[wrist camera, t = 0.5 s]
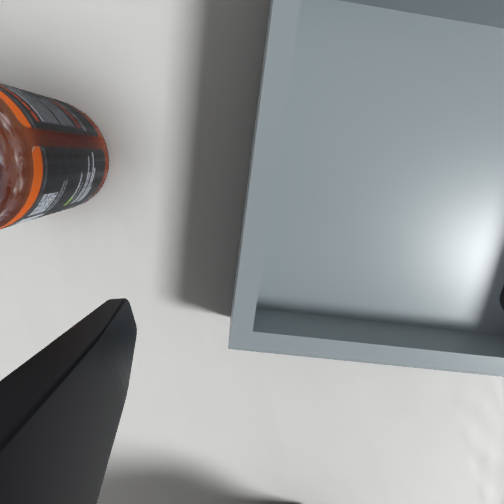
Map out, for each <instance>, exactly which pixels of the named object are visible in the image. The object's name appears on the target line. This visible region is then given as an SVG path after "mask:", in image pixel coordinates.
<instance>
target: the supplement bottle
mask: <svg viewBox="0 0 504 504" xmlns="http://www.w3.org/2000/svg"><path fill="white" fill-rule="evenodd" d="M108 169H109V156H108V150H107V146H106V143H105V140H104V138H103V136H102V134H101V132H100V130H99V129H98V127H97V126H96V125H95V124H94V122H93V121H92V120H91V119H90V118H89V117H88V116H86V115H85V114H84V113H83V112H81V111H80V110H78V109H77V108H75V107H73V106H71V105H69V104H66V103H63V102H61V101H58V100H55V99H51V98H48V97H44V96H41V95H38V94H35V93H31V92H28V91H25V90H21V89H18V88H14V87H10V86H7V85H4V84H1V83H0V229H3V228H6V227H9V226H12V225H15V224H19V223H22V222H25V221H28V220H32V219H35V218H38V217H42V216H45V215H48V214H52V213H55V212H59V211H62V210H65V209H69V208H72V207H75V206H77V205H79V204H82V203H85V202H87V201H88V200H89V199H91V198H92V197H93V196H94V195H95V194H96V193H98V191H99V190H100V188H101V187H102V186H103V184H104V182H105V180H106V177H107V173H108Z"/></svg>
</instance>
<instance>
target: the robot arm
mask: <svg viewBox="0 0 504 504" xmlns="http://www.w3.org/2000/svg"><path fill="white" fill-rule="evenodd" d="M499 302H500V305H501V307H502V309H503V311H504V285H503V288H502V290H501V293H500V296H499ZM136 335H137V328H136V323H135V320H134V316H133V313H132V309H131V306H130V303H129V301H128V300H127V299H125V298H121V299H110V300H108V301H106V302H105V303H103V304H102V305H101V306H99V307H98V308H97V309H95V310H94V311H93V312H91V313H90V314H89V315H87V316H86V317H85V318H83V319H82V320H81V321H80V322H78V323H77V324H76V325H74V326H73V327H72V328H70V329H69V330H68V331H66V332H65V333H64V334H62V335H61V336H60V337H58V338H57V339H56V340H54V341H53V342H52V343H50V344H49V345H48V346H46V347H45V348H44V349H42V350H41V351H40V352H38V353H37V354H36V355H34V356H33V357H32V358H30V359H29V360H28V361H26V362H25V363H24V364H22V365H21V366H20V367H18V368H17V369H16V370H14V371H13V372H12V373H10V374H9V375H8V376H6V377H5V378H4V379H2V380H1V381H0V504H96V503H97V499H98V496H99V492H100V489H101V485H102V482H103V478H104V475H105V471H106V468H107V464H108V460H109V457H110V453H111V450H112V446H113V443H114V439H115V436H116V432H117V428H118V425H119V421H120V418H121V414H122V411H123V407H124V403H125V400H126V396H127V390H128V385H129V379H130V373H131V366H132V360H133V354H134V348H135V341H136Z"/></svg>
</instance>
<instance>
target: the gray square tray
mask: <svg viewBox="0 0 504 504" xmlns="http://www.w3.org/2000/svg"><path fill="white" fill-rule="evenodd" d="M503 285H504V0H271V1H270V9H269V17H268V25H267V33H266V41H265V49H264V56H263V64H262V72H261V80H260V88H259V96H258V104H257V112H256V119H255V127H254V135H253V143H252V151H251V159H250V167H249V175H248V182H247V190H246V198H245V206H244V214H243V222H242V230H241V237H240V245H239V253H238V261H237V269H236V277H235V285H234V293H233V300H232V308H231V316H230V331H229V347H228V349H236V350H246V351H256V352H266V353H275V354H285V355H295V356H305V357H315V358H325V359H335V360H345V361H354V362H364V363H374V364H384V365H394V366H404V367H414V368H424V369H434V370H443V371H453V372H463V373H473V374H483V375H493V376H503V377H504V311H503V309H502V307H501V305H500V302H499V296H500V293H501V290H502V288H503Z"/></svg>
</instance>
